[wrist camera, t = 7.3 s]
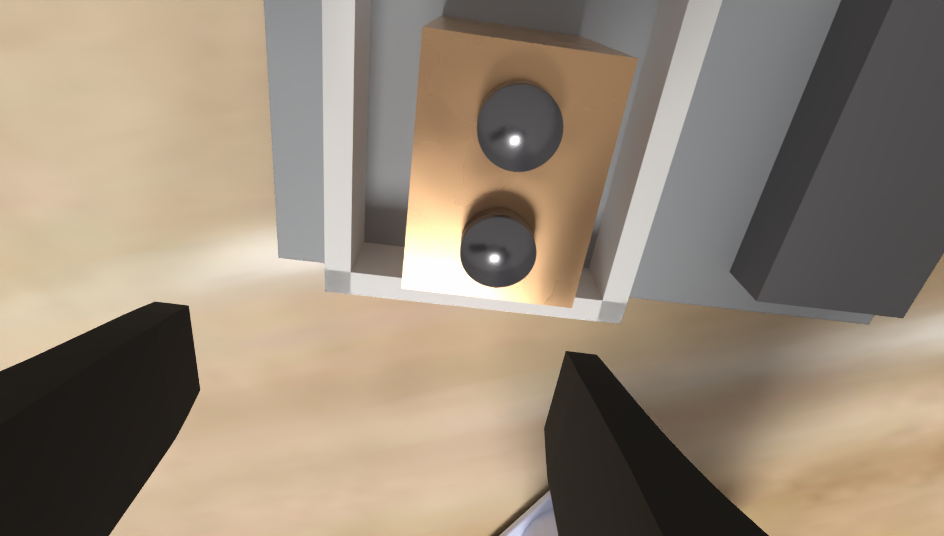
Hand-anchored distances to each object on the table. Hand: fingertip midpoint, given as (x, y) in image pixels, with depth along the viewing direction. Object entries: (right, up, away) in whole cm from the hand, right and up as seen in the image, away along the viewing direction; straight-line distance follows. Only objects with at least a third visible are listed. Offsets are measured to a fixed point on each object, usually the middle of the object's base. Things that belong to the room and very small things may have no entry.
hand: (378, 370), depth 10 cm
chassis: (+7, +7, +7) cm, 12 cm away
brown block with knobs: (+3, +7, +6) cm, 9 cm away
